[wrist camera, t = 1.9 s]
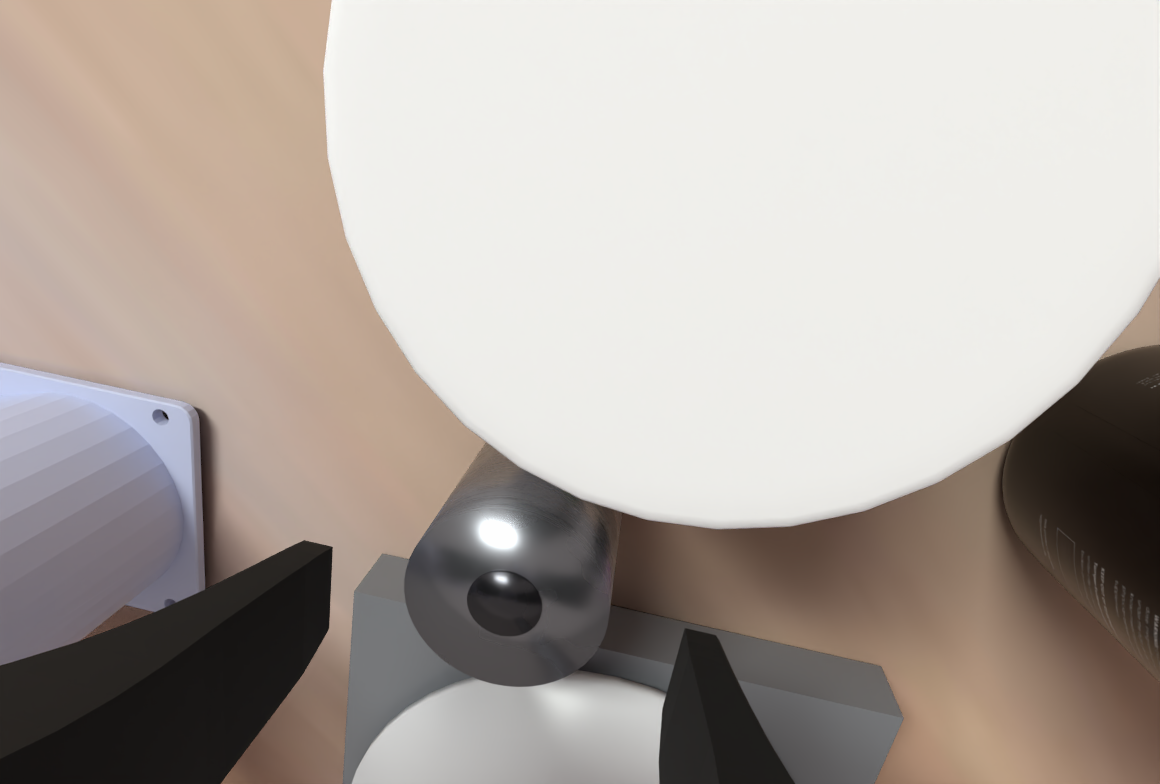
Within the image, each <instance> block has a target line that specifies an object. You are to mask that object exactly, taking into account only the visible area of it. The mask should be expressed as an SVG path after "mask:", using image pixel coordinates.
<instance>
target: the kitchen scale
mask: <svg viewBox="0 0 1160 784" xmlns="http://www.w3.org/2000/svg"><path fill="white" fill-rule="evenodd" d="M408 562H409V559H404V558H400V557H395V556H391V555H386V554H382V555H381V556H380V558H379V559H378V560H377V562H376V563H375V564H374V566H373V567H372V568H371V570H370V571H369V572H368V574H367V575H366V576H365V578H364V579H363V580H362V582H361V583H360V584H359V586H358V587H357V588H356V590H355V591H354V603H353V620H352V637H351V653H350V670H349V687H348V704H347V720H346V737H345V754H344V770H343V784H659V748H660V733H661V720H662V708H663V704H664V701H665V697H666V693H667V690H668V686H669V683H670V679H671V675H672V672H673V668H674V665H675V661H676V657H677V654H678V650H679V647H680V643H681V640H682V636H683V632H684V629H685V628H687V629H691V630H696V631H700V632H705V633H709V634H713V635H716V636H717V638H718V639H719V641H720V643H721V645H722V647H723V650H724V652H725V654H726V656H727V659H728V661H729V663H730V665H731V667H732V670H733V672H734V674H735V676H736V678H737V680H738V682H739V684H740V686H741V688H742V690H743V692H744V694H745V696H746V698H747V700H748V702H749V704H750V706H751V708H752V710H753V712H754V714H755V715H756V717H757V719H758V721H759V723H760V725H761V727H762V729H763V730H764V732H765V734H766V736H767V738H768V739H769V741H770V743H771V745H772V746H773V748H774V750H775V751H776V753H777V755H778V756H779V758H780V760H781V761H782V763H783V765H784V766H785V768H786V770H787V771H788V773H789V775H790V776H791V778H792V779H793V781H794V782H795V784H874V783H875V781H876V779H877V777H878V774H879V772H880V770H881V768H882V766H883V763H884V761H885V759H886V757H887V754H888V752H889V750H890V748H891V745H892V743H893V741H894V739H895V737H896V734H897V732H898V730H899V728H900V725H901V723H902V721H903V719H904V718H903V715H902V713H901V711H900V709H899V706H898V704H897V702H896V699H895V697H894V695H893V693H892V690H891V688H890V686H889V683H888V681H887V679H886V676H885V674H884V672H883V670H882V667H881V666H877V665H873V664H868V663H864V662H860V661H855V660H851V659H846V658H842V657H838V656H833V655H829V654H824V653H820V652H815V651H811V650H807V649H802V648H798V647H793V646H789V645H784V644H780V643H776V642H771V641H767V640H762V639H758V638H754V637H749V636H745V635H740V634H736V633H731V632H727V631H723V630H718V629H714V628H709V627H705V626H700V625H696V624H692V623H687V622H683V621H678V620H674V619H669V618H665V617H661V616H656V615H652V614H647V613H643V612H639V611H634V610H630V609H625V608H621V607H616V606H612V605H610V613H609V620H608V626H607V630H606V633H605V636H604V638H603V640H602V642H601V644H600V646H599V648H598V649H597V651H596V652H595V654H594V655H593V656H592V657H591V658H590V659H589V660H588V662H587V663H586V664H585V665H583V666H582V667H581V668H579V669H578V670H577V671H575V672H574V673H572V674H570V675H568V676H567V677H565V678H562V679H560V680H557V681H555V682H551V683H547V684H544V685H538V686H531V687H511V686H502V685H497V684H491V683H488V682H485V681H481V680H478V679H476V678H473V677H471V676H468V675H466V674H464V673H463V672H461V671H459V670H457V669H455V668H454V667H452V666H451V665H449V664H448V663H446V662H445V661H444V660H443V659H441V658H440V657H439V656H438V655H437V654H435V653H434V651H433V650H432V649H431V648H430V647H429V646H428V645H427V644H426V643H425V641H424V640H423V639H422V637H421V636H420V635H419V633H418V631H417V630H416V628H415V626H414V625H413V622H412V620H411V618H410V615H409V613H408V609H407V606H406V602H405V594H404V578H405V572H406V568H407V565H408Z"/></svg>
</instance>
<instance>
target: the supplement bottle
mask: <svg viewBox="0 0 1160 784" xmlns="http://www.w3.org/2000/svg"><path fill="white" fill-rule="evenodd" d="M1002 489H1003V499H1004V505H1005V508H1006V512H1007V515H1008V518H1009V520H1010V523H1011V525H1012V527H1013V529H1014V531H1015V533H1016V535H1017V536H1018V538H1019V539H1020V540H1021V542H1022V543H1023V545H1024V546H1025V547H1026V548H1027V550H1028V551H1029V552H1030V553H1031V554H1032V555H1033V556H1034V557H1035V558H1036V559H1037V560H1038V561H1039V562H1040V563H1041V564H1042V566H1043V567H1044V568H1045V569H1046V570H1047V571H1048V572H1049V573H1050V574H1051V575H1052V576H1053V577H1054V578H1055V579H1056V580H1057V581H1058V582H1059V583H1060V584H1061V585H1062V586H1063V587H1064V588H1065V589H1066V590H1067V591H1068V592H1069V593H1070V594H1071V595H1072V596H1073V597H1074V598H1075V599H1076V600H1077V601H1078V602H1079V603H1080V604H1081V605H1082V606H1083V607H1084V608H1085V609H1086V610H1087V611H1088V612H1089V613H1090V614H1091V615H1092V616H1093V617H1094V618H1095V619H1096V620H1097V621H1098V622H1099V623H1100V624H1101V625H1102V626H1103V627H1104V628H1105V629H1106V630H1107V631H1108V632H1109V633H1110V634H1111V635H1112V636H1113V637H1114V638H1115V639H1116V640H1117V641H1118V642H1119V643H1120V644H1121V645H1122V646H1123V647H1124V648H1125V649H1126V650H1127V651H1128V652H1129V653H1130V654H1131V655H1132V656H1133V657H1134V658H1135V659H1136V660H1137V661H1138V662H1139V663H1140V664H1141V665H1142V666H1143V667H1144V668H1145V669H1146V670H1147V671H1148V672H1149V673H1150V674H1151V675H1152V676H1153V677H1154V678H1155V679H1156V680H1157V681H1158V682H1159V683H1160V345H1153V346H1147V347H1141V348H1136V349H1132V350H1128V351H1124V352H1121V353H1118V354H1115V355H1112V356H1109V357H1107V358H1104V359H1102V360H1099V361H1097V362H1096V363H1095V365H1094V366H1093V367H1092V368H1091V369H1090V370H1089V372H1088V373H1087V374H1086V375H1085V376H1084V377H1083V379H1082V380H1081V381H1080V382H1079V383H1078V384H1077V385H1076V386H1075V387H1074V388H1072V389H1071V390H1070V391H1069V392H1068V393H1066V394H1065V395H1064V396H1063V397H1062V398H1060V399H1059V400H1058V401H1057V402H1056V403H1054V404H1053V405H1052V406H1051V407H1050V408H1048V409H1047V410H1046V411H1045V412H1044V413H1042V414H1041V415H1040V416H1039V417H1038V418H1036V419H1035V420H1034V421H1033V422H1032V423H1030V424H1029V425H1028V426H1027V427H1026V428H1024V429H1023V430H1022V431H1021V432H1020V433H1018V434H1017V435H1016V436H1015V437H1014V438H1013V440H1012V442H1011V445H1010V447H1009V450H1008V453H1007V456H1006V460H1005V465H1004V470H1003V480H1002Z"/></svg>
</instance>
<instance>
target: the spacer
mask: <svg viewBox="0 0 1160 784" xmlns="http://www.w3.org/2000/svg"><path fill="white" fill-rule="evenodd" d="M621 520H622V512H619V511H616V510H613V509H610V508H607V507H604V506H600V505H597V504H594V503H591V502H588V501H585V500H581V499H579V498H577V497H575V496H573V495H571V494H570V493H568V492H566V491H564V490H562V489H560V488H558V487H556V486H554V485H552V484H550V483H548V482H546V481H544V480H542V479H541V478H539V477H537V476H535V475H533V474H531V473H529V472H527V471H525V470H523V469H521V468H519V467H518V466H517V465H515V464H514V463H513V462H511V461H510V460H509V459H508V458H506V457H505V456H504V455H502V454H501V453H500V452H498V451H497V450H496V449H495V448H493V447H492V446H491V445H489V444H488V443H487V442H486V443H485V445H484V446H483V448H482V449H481V451H480V452H479V454H478V455H477V457H476V458H475V460H474V461H473V463H472V464H471V466H470V467H469V468H468V470H467V471H466V473H465V474H464V476H463V477H462V479H461V480H460V482H459V483H458V485H457V486H456V488H455V489H454V491H453V492H452V494H451V495H450V497H449V498H448V500H447V501H446V503H445V504H444V506H443V507H442V509H441V510H440V512H439V513H438V515H437V516H436V518H435V519H434V521H433V522H432V524H431V525H430V527H429V528H428V530H427V531H426V532H425V534H424V535H423V537H422V538H421V540H420V541H419V543H418V544H417V546H416V547H415V549H414V551H413V553H412V555H411V557H410V559H409V562H408V565H407V568H406V572H405V578H404V594H405V602H406V606H407V609H408V613H409V615H410V618H411V620H412V622H413V625H414V626H415V628H416V630H417V631H418V633H419V635H420V636H421V637H422V639H423V640H424V641H425V643H426V644H427V645H428V646H429V647H430V648H431V649H432V650H433V651H434V653H435V654H437V655H438V656H439V657H440V658H441V659H443V660H444V661H445V662H446V663H448V664H449V665H451V666H452V667H454V668H455V669H457V670H459V671H461V672H463V673H464V674H466V675H468V676H471V677H473V678H476V679H478V680H481V681H485V682H488V683H491V684H497V685H502V686H511V687H531V686H538V685H544V684H547V683H551V682H555V681H557V680H560V679H562V678H565V677H567V676H568V675H570V674H572V673H574V672H575V671H577V670H578V669H579V668H581V667H582V666H583V665H585V664H586V663H587V662H588V660H589V659H590V658H591V657H592V656H593V655H594V654H595V652H596V651H597V649H598V648H599V646H600V644H601V642H602V640H603V638H604V636H605V633H606V630H607V626H608V620H609V613H610V605H611V597H612V589H613V582H614V574H615V566H616V559H617V551H618V543H619V535H620V528H621Z"/></svg>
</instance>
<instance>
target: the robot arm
mask: <svg viewBox="0 0 1160 784" xmlns="http://www.w3.org/2000/svg"><path fill="white" fill-rule="evenodd" d="M162 410H163V411H164V412H165V413H166V414H167V415H168V418H169V420H168V419H166V418H165V417H164V416H163V413H162ZM332 548H333V547H331V546H326V545H322V544H317V543H313V542H309V541H302V542H300V543H297V544H295V545H293V546H291V547H289V548H287V549H285V550H283V551H281V552H279V553H277V554H275V555H273V556H271V557H269V558H267V559H265V560H263V561H261V562H259V563H257V564H255V565H253V566H251V567H249V568H247V569H245V570H243V571H241V572H239V573H237V574H235V575H233V576H231V577H229V578H227V579H225V580H223V581H221V582H219V583H217V584H215V585H213V586H211V587H209V588H207V589H205V565H204V537H203V509H202V481H201V452H200V424H199V416H198V413H197V412H196V410H195V409H194V408H193V407H192V406H191V405H190V404H188V403H185V402H182V401H178V400H173V399H168V398H164V397H159V396H154V395H150V394H145V393H140V392H136V391H131V390H127V389H122V388H117V387H113V386H108V385H103V384H99V383H94V382H89V381H85V380H80V379H75V378H71V377H66V376H61V375H57V374H52V373H47V372H43V371H38V370H33V369H29V368H24V367H19V366H15V365H10V364H6V363H1V362H0V784H221V782H222V781H223V780H224V778H225V777H226V775H227V774H228V773H229V771H230V770H231V769H232V767H233V766H234V765H235V764H236V762H237V761H238V760H239V758H240V757H241V756H242V754H243V753H244V752H245V750H246V749H247V748H248V746H249V745H250V744H251V742H252V741H253V740H254V738H255V737H256V736H257V735H258V733H259V732H260V731H261V729H262V728H263V727H264V725H265V724H266V723H267V721H268V720H269V719H270V717H271V716H272V715H273V713H274V712H275V711H276V709H277V708H278V707H279V705H280V704H281V703H282V701H283V700H284V699H285V697H286V696H287V695H288V693H289V692H290V691H291V689H292V688H293V687H294V685H295V684H296V683H297V681H298V680H299V679H300V677H301V676H302V674H303V673H304V671H305V669H306V668H307V666H308V664H309V663H310V661H311V659H312V658H313V656H314V654H315V653H316V651H317V649H318V647H319V645H320V644H321V642H322V640H323V638H324V637H325V635H326V633H327V631H328V629H329V617H330V594H331V571H332ZM175 601H176V602H175ZM124 605H127V606H132V607H136V608H140V609H144V610H148V611H153V612H154V613H152V614H149V615H147V616H144V617H142V618H140V619H137V620H135V621H132V622H130V623H127V624H125V625H122V626H119V627H117V628H114V629H111V630H109V631H106V632H103V633H100V634H98V635H95V636H92V637H89V638H87V639H84V640H82V639H83V638H84V637H85V636H87V635H88V634H89V633H90V632H92V631H93V630H94V629H95V628H97V627H98V626H99V625H100V624H102V623H103V622H104V621H106V620H107V619H108V618H109V617H111V616H112V615H113V614H114V613H116V612H117V611H118V610H119V609H121V608H122V607H123V606H124ZM80 640H81V641H80ZM659 784H795V782H794V781H793V779H792V778H791V776H790V775H789V773H788V771H787V770H786V768H785V766H784V765H783V763H782V761H781V760H780V758H779V756H778V755H777V753H776V751H775V750H774V748H773V746H772V745H771V743H770V741H769V739H768V738H767V736H766V734H765V732H764V730H763V729H762V727H761V725H760V723H759V721H758V719H757V717H756V715H755V714H754V712H753V710H752V708H751V706H750V704H749V702H748V700H747V698H746V696H745V694H744V692H743V690H742V688H741V686H740V684H739V682H738V680H737V678H736V676H735V674H734V672H733V670H732V667H731V665H730V663H729V661H728V659H727V656H726V654H725V652H724V650H723V647H722V645H721V643H720V641H719V639H718V638H717V636H716V635H713V634H709V633H705V632H700V631H696V630H691V629H687V628H685V629H684V632H683V636H682V640H681V643H680V647H679V650H678V654H677V657H676V661H675V665H674V668H673V672H672V675H671V679H670V683H669V686H668V690H667V693H666V697H665V701H664V704H663V708H662V720H661V733H660V748H659Z"/></svg>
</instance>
